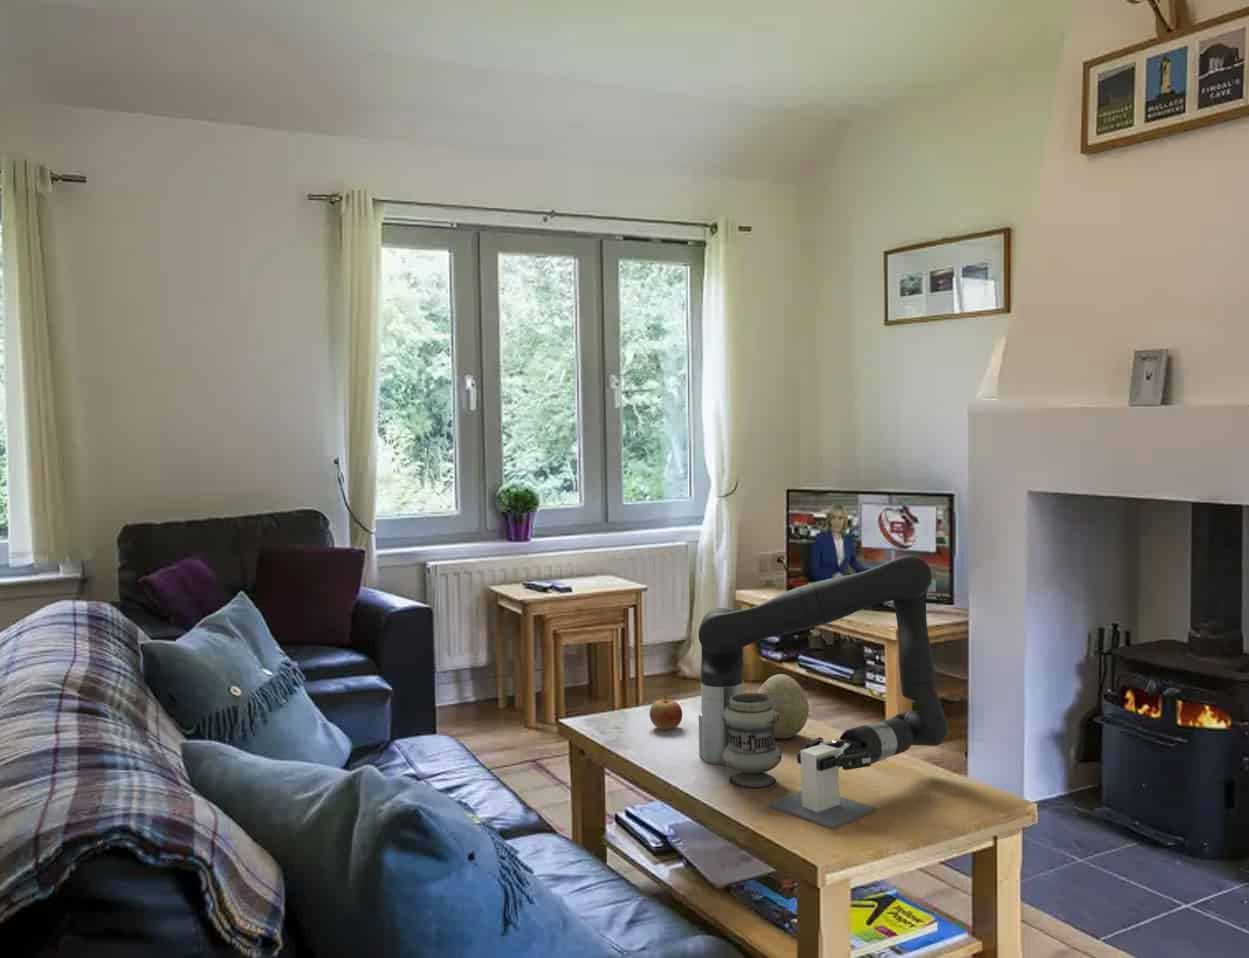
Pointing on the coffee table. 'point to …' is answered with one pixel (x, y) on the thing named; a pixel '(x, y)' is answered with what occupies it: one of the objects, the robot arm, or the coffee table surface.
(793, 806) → the mat
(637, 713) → the coffee table surface
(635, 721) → the coffee table surface
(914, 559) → the robot arm
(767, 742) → the apothecary jar
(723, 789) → the coffee table surface
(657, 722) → the apple
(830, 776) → the tall cream pillar block
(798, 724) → the fossilized egg
